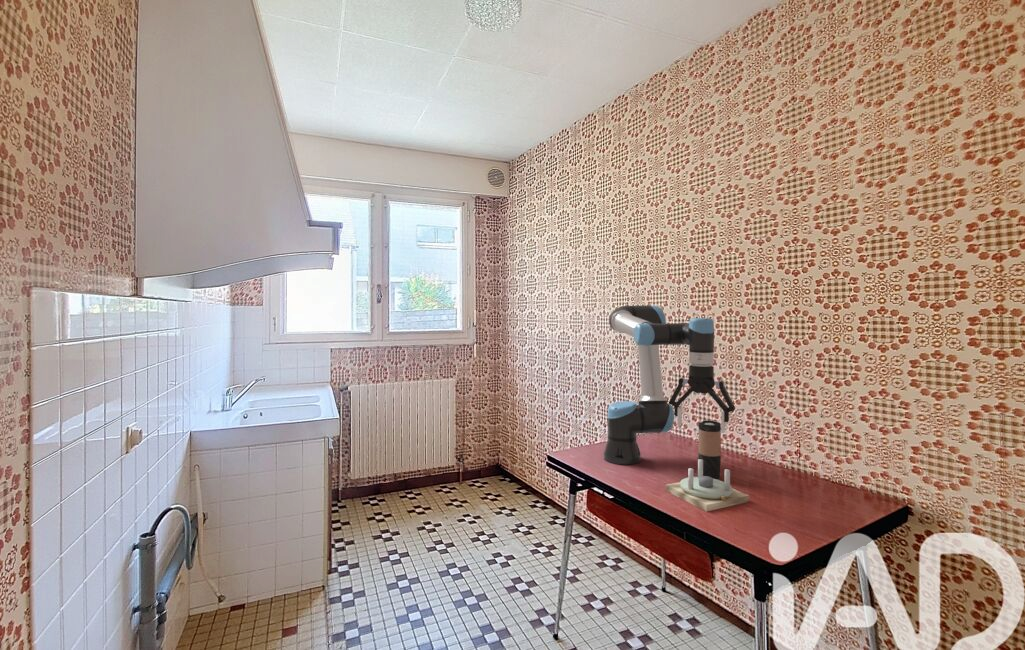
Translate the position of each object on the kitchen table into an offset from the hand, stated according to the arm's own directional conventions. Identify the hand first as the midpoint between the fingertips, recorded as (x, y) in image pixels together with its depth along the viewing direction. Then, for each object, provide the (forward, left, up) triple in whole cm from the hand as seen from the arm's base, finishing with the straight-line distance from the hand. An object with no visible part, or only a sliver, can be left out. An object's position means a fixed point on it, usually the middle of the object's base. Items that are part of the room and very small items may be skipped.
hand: (700, 429), depth 151 cm
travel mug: (-12, +16, -23) cm, 30 cm away
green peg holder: (+1, +1, -20) cm, 20 cm away
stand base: (+1, +1, -22) cm, 22 cm away
